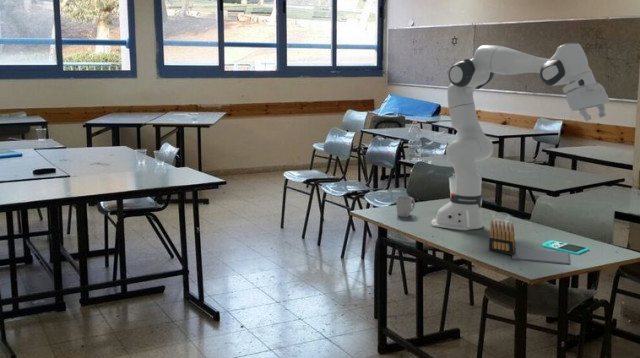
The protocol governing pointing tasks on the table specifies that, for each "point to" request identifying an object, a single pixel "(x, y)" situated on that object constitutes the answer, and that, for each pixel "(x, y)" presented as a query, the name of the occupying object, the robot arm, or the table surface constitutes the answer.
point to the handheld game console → (564, 247)
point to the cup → (404, 206)
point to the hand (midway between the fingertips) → (595, 118)
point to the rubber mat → (541, 256)
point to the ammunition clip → (502, 238)
